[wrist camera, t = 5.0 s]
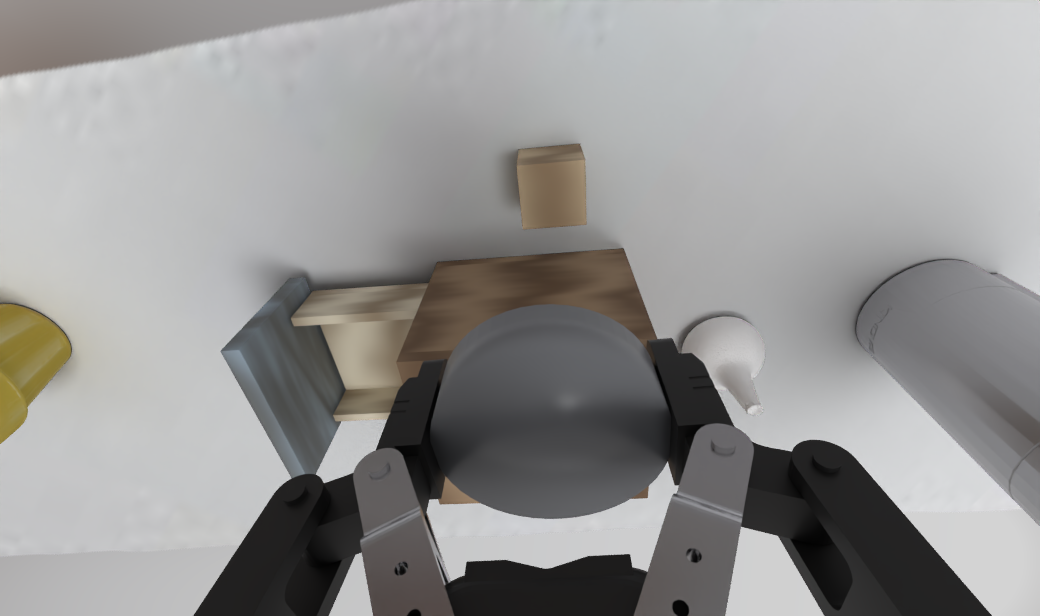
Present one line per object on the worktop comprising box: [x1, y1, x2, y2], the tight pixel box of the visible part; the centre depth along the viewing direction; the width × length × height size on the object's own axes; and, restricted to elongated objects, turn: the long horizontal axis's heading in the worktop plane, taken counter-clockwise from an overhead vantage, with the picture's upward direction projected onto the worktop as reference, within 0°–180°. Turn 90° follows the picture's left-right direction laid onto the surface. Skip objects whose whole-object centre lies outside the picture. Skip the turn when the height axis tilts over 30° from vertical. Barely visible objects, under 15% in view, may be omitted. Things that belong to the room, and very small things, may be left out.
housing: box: [396, 249, 657, 504], centre depth 32 cm, size 14×12×12 cm
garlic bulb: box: [682, 316, 765, 416], centre depth 35 cm, size 6×6×8 cm
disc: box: [430, 304, 671, 519], centre depth 13 cm, size 6×6×2 cm
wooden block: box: [517, 144, 586, 230], centre depth 29 cm, size 4×4×4 cm
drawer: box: [221, 277, 429, 478], centre depth 34 cm, size 15×12×9 cm
